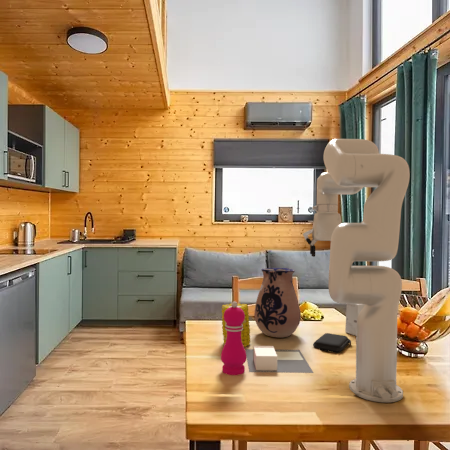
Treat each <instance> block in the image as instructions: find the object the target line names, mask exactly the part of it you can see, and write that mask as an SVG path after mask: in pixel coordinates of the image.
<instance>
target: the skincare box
mask: <svg viewBox="0 0 450 450" xmlns="http://www.w3.org/2000/svg"><path fill="white" fill-rule="evenodd" d="M364 306H365V304H346V306H345V308H346V309H345V333H347V334H350V335H353V336H356V323H357V318H358V315H359V313H360V312H361V310H362V309H363V307H364Z"/></svg>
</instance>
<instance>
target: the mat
mask: <svg viewBox="0 0 450 450" xmlns="http://www.w3.org/2000/svg"><path fill="white" fill-rule="evenodd" d="M244 349H245V348H244ZM245 351H246V357H247V359H246V362H247V366H248V373H281V374H283V373H285V374H286V373H288V374H289V373H295V374H296V373H298V374H301V373H303V374H304V373H305V374H307V373H308V374H314V371H313V370H312V368H311V366H310V365H309V362H308V361H307V359H306V358H305V356H304V354H303V352H302V351H301V350H300V349H275V352H276V354H277V370H256V368H255V363H254V360H253V348H250V349H249V348H246V349H245Z"/></svg>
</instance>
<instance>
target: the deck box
mask: <svg viewBox="0 0 450 450" xmlns="http://www.w3.org/2000/svg"><path fill="white" fill-rule="evenodd" d="M252 349H253V360H254V363H255V368H256V370H277V354H276V352H275V350H276V349H275V347H274V345H253V348H252Z"/></svg>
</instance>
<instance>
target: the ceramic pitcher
mask: <svg viewBox="0 0 450 450" xmlns="http://www.w3.org/2000/svg"><path fill="white" fill-rule="evenodd" d="M261 272H262V275H263V276H262V281H261V282H262V283H261V285H260V288H259V292H258V294H257V298H256V301H255V305H254V313H253V314H254V321H255V323H256V326H257V327H258V329H259V331H260V332H261V333H263V334H264V335H266V336H267V337H271V338H279V339H280V338H283V339H284V338H288V337H290V336H291V335H292V334H294V333H295V332H296V330H297V328H298V327H299V326H300V323H301V317H302V316H301V313H302V312H301V308H300V304H299V299H298V296H297V293H296V290H295V287H294V283H293V280H294V279H293V278H294V277H293V275H294V273H295V269H292V268H289V267H267V268H262V269H261Z"/></svg>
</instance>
